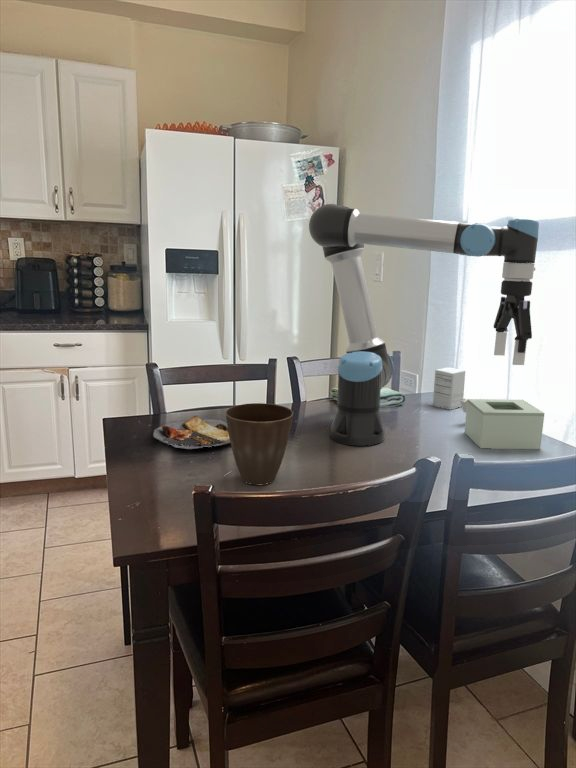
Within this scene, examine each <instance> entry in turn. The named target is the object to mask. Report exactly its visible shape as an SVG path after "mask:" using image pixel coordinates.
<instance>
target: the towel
mask: <svg viewBox="0 0 576 768" xmlns="http://www.w3.org/2000/svg"><path fill="white" fill-rule="evenodd" d="M329 392H330V393H331V399H332V398H333V400H335V401H337V402H338V386H337V387H331V389H330V390H329ZM406 400H407V397H406V395H405V394H404V393H403V392H400V391H397V390H393V389H391V388H388V387H386V386H384V387H382V388H381V391H380V409H382V408H393V407H395V408H396V407H398V406H401V405H403V404H404V403H405V402H406Z"/></svg>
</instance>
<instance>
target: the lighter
mask: <svg viewBox="0 0 576 768" xmlns="http://www.w3.org/2000/svg"><path fill="white" fill-rule="evenodd" d="M467 399H468V398H463V399H462V400H461V401H460V402H461V405H462V407H461V408H462V411H463V413H465V414H466V410H467Z"/></svg>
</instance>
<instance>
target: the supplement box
mask: <svg viewBox="0 0 576 768" xmlns="http://www.w3.org/2000/svg"><path fill="white" fill-rule="evenodd" d="M465 378H466V370H464V369H460V368H453V367H450V366H449V367H442V368H437V369H435V370H434V383H433V385H434V386H433V397H432V398H433V399H432V406H433V405H434V407H437V406H438V407H437V408H440V407H443V408H442V409H444V408H447V409H446V410H448V409H450V410H449V411H452V410H455V409H458V407H459V408H462V405H461V402H460V401H461V400H462V399H464V395H465V394H464V393H465V380H466V379H465ZM451 409H452V410H451Z"/></svg>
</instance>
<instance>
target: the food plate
mask: <svg viewBox="0 0 576 768" xmlns="http://www.w3.org/2000/svg"><path fill="white" fill-rule="evenodd" d="M182 428H185V429H188V430H177V429H182ZM192 431H193V432H196V433H199V434H202V435H204V436H207V437H211V438H213V439H217V440H220V441H224V442H223V443H216V442H214V441H213V440H211V439H209V438H204V437H199V436H197V437H189V436H191V435H192V433H193V432H192ZM152 437H153V438H154V439H156V440H159V441H160V442H161V443H164V444H166V445H167V444H168V441H163V438H171V439H174V440H177V441H182V440H184V439H187V438H191V439H194V440H195V441H197V442H198V443H200V444H202V445H203V444H213V443H214V445H212V446H214V447H217V446H218V447H219V446H222V445H227V444H231V442H230V438H229V433H228V426H227V421H226V420H222V419H221V420H220V419H213V418H212V419H211V418H206V419H205V418H200V417H199V416H198V415H194V416H193V417H191V418H189V419H181V420H177V421H171V422H167V423H164V424H162V425H160V426H158V427H156V428H155V429H154V430H153V432H152ZM228 440H229V441H228ZM225 441H227V442H225ZM169 445H171V446H170V447H174V448H176V449H178V448H179V449H186V450H193V449H195V450H196V449H204V448H203V447H208V448H213V447H212V446H199V445H197V446H190V447H189V445H182V446H178V445H176V444H175V445H173V444H168V445H167V446H169Z"/></svg>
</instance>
